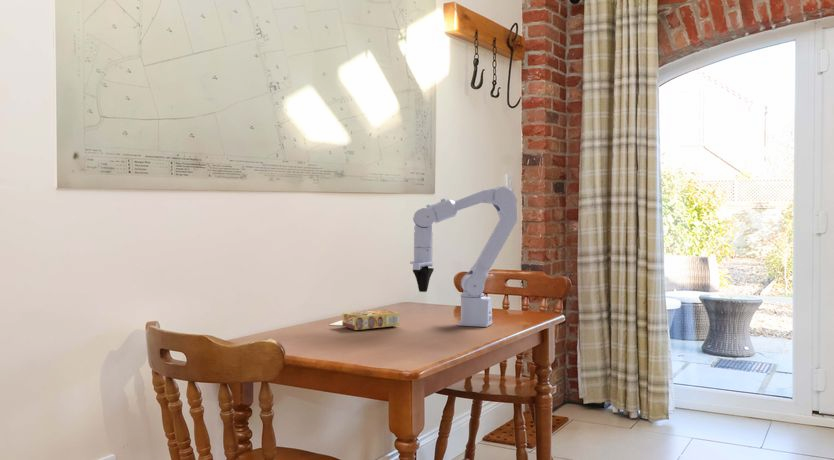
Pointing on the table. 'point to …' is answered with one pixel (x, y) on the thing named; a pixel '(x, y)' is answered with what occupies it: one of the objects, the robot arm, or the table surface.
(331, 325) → the placemat
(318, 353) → the table surface
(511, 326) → the table surface
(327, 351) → the table surface
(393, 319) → the candy box
